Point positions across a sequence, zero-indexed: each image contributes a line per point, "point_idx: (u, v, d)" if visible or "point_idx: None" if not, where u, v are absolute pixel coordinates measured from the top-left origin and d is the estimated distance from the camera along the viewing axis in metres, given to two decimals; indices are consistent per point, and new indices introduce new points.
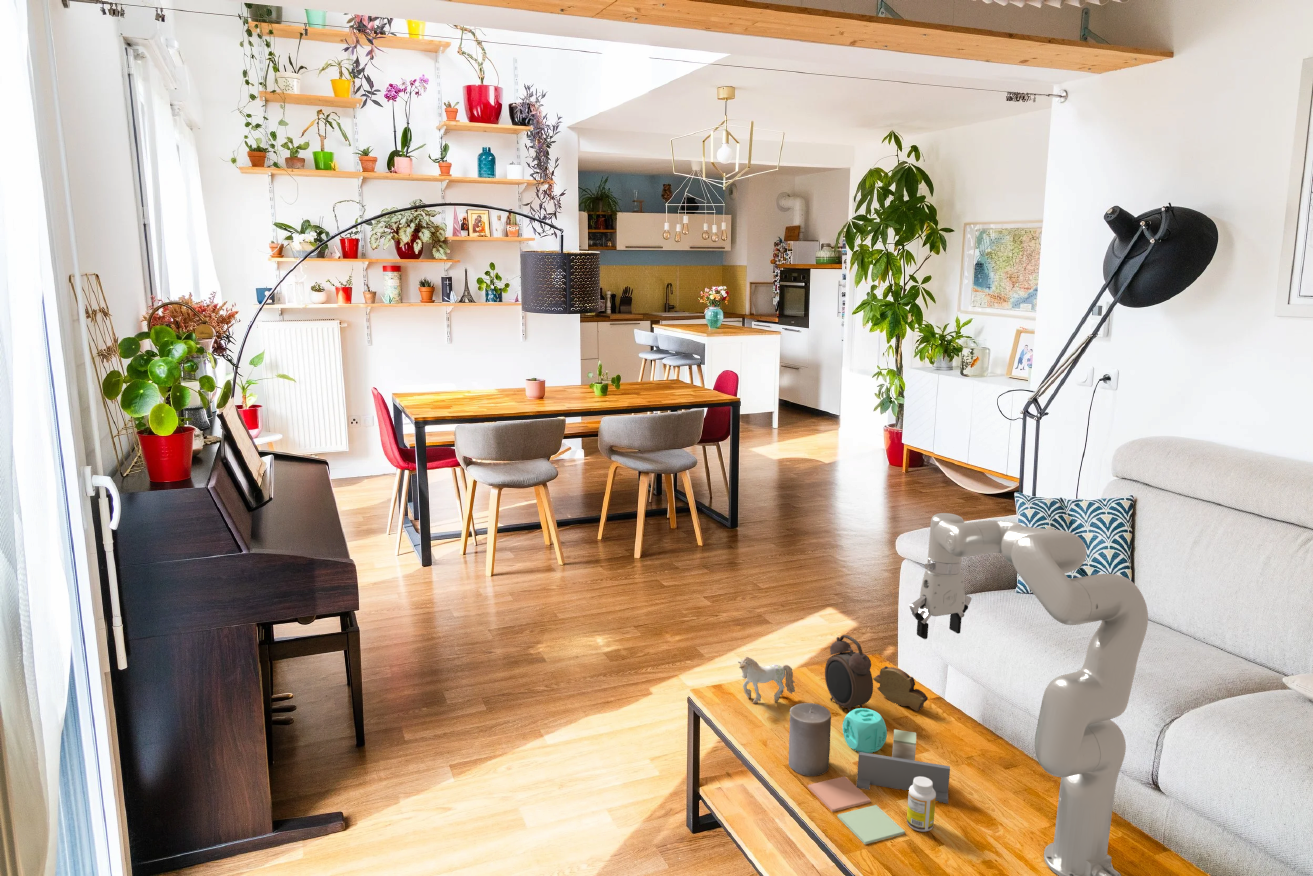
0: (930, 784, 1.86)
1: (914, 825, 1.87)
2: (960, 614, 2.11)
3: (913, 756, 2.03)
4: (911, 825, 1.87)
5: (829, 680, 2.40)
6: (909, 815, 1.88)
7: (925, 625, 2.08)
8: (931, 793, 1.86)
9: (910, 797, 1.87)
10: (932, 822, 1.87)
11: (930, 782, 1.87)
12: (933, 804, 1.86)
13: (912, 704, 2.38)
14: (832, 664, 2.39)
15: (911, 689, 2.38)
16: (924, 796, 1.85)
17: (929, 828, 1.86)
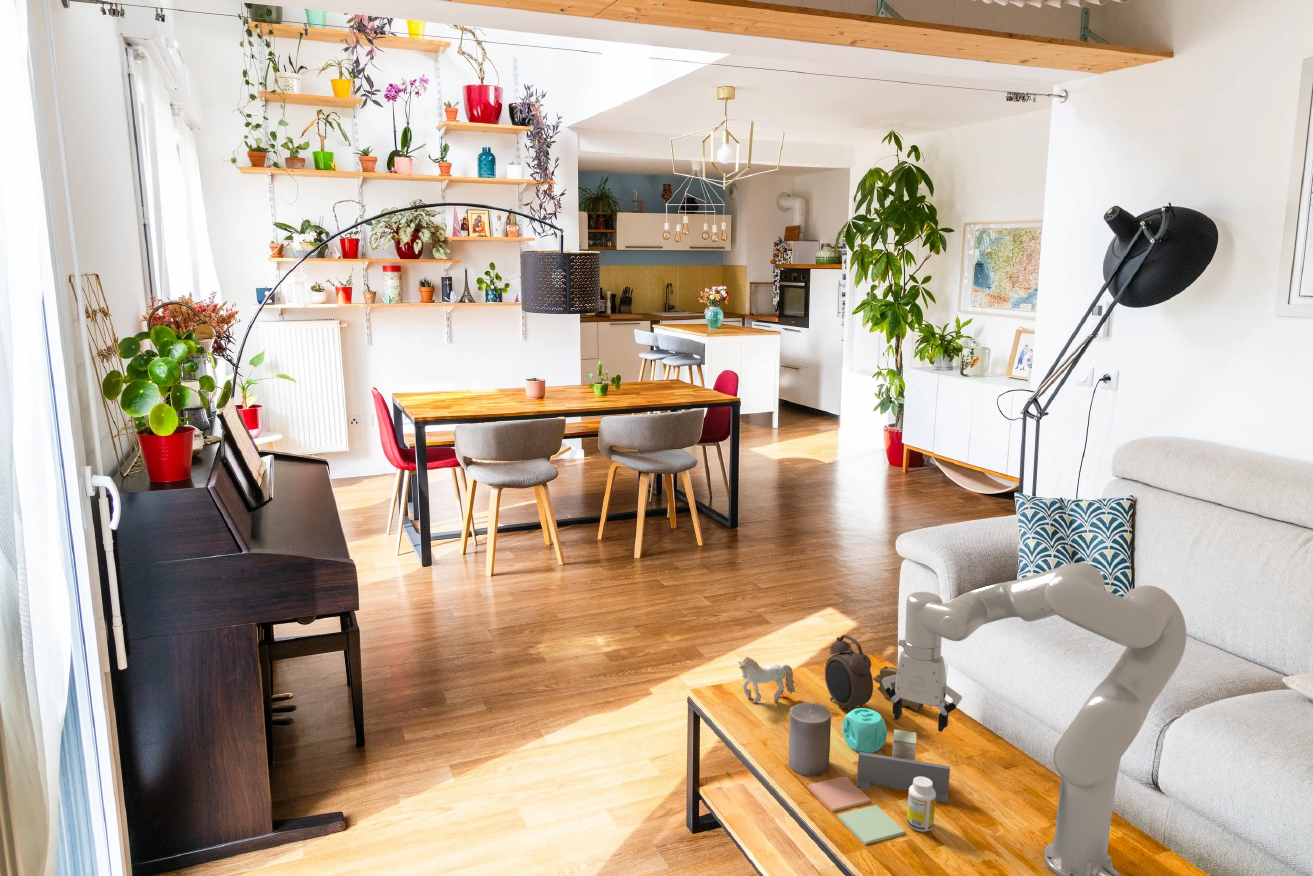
0: (930, 784, 1.86)
1: (914, 825, 1.87)
2: (941, 711, 1.90)
3: (913, 756, 2.03)
4: (911, 825, 1.87)
5: (829, 680, 2.40)
6: (909, 815, 1.88)
7: None
8: (931, 793, 1.86)
9: (910, 797, 1.87)
10: (932, 822, 1.87)
11: (930, 782, 1.87)
12: (933, 804, 1.86)
13: (912, 704, 2.38)
14: (832, 664, 2.39)
15: None
16: (924, 796, 1.85)
17: (929, 828, 1.86)
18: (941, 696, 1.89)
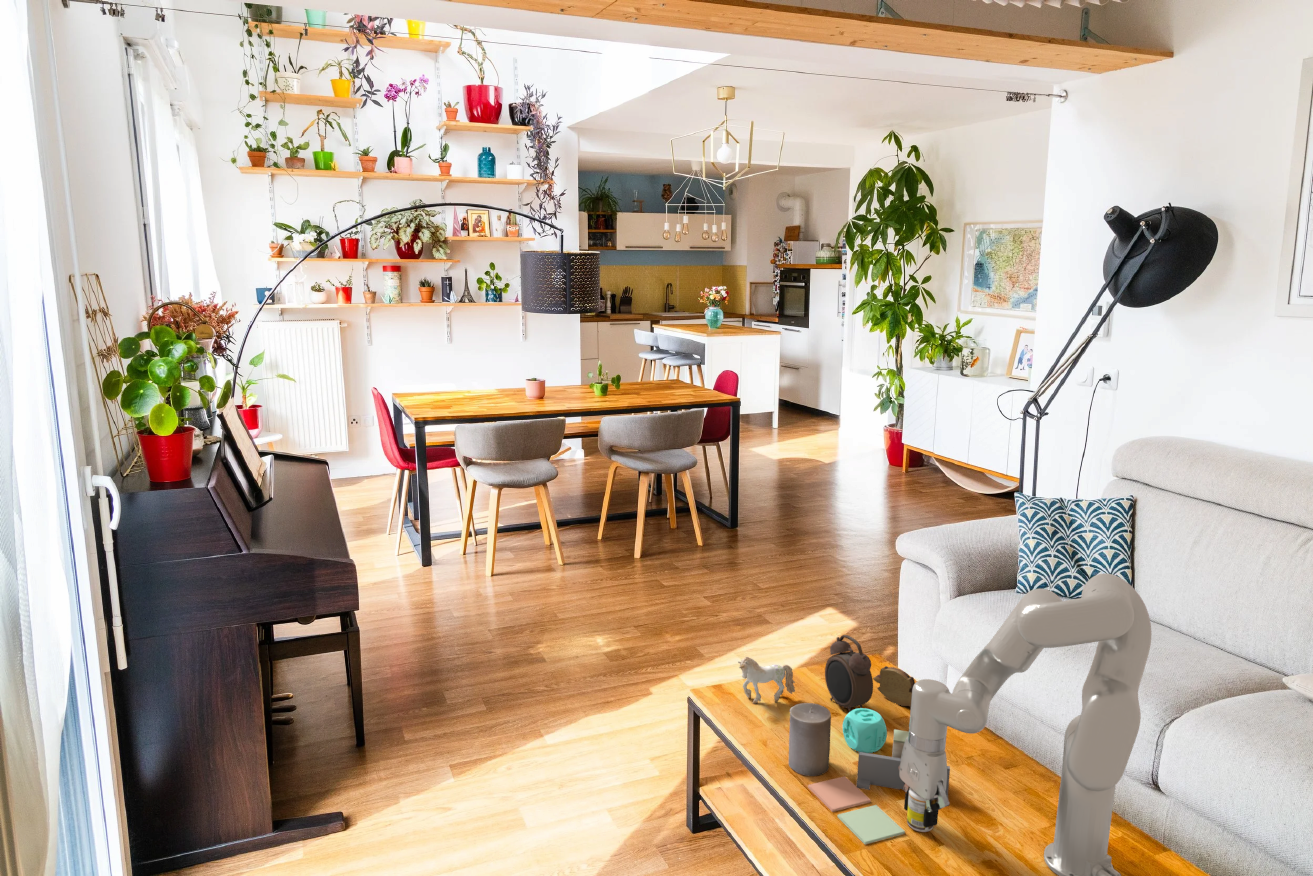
0: None
1: (914, 825, 1.87)
2: (927, 806, 1.84)
3: None
4: (911, 825, 1.87)
5: (829, 680, 2.40)
6: (909, 815, 1.88)
7: None
8: None
9: (910, 797, 1.87)
10: None
11: None
12: None
13: None
14: (832, 664, 2.39)
15: (911, 689, 2.38)
16: None
17: (929, 828, 1.86)
18: (931, 791, 1.81)
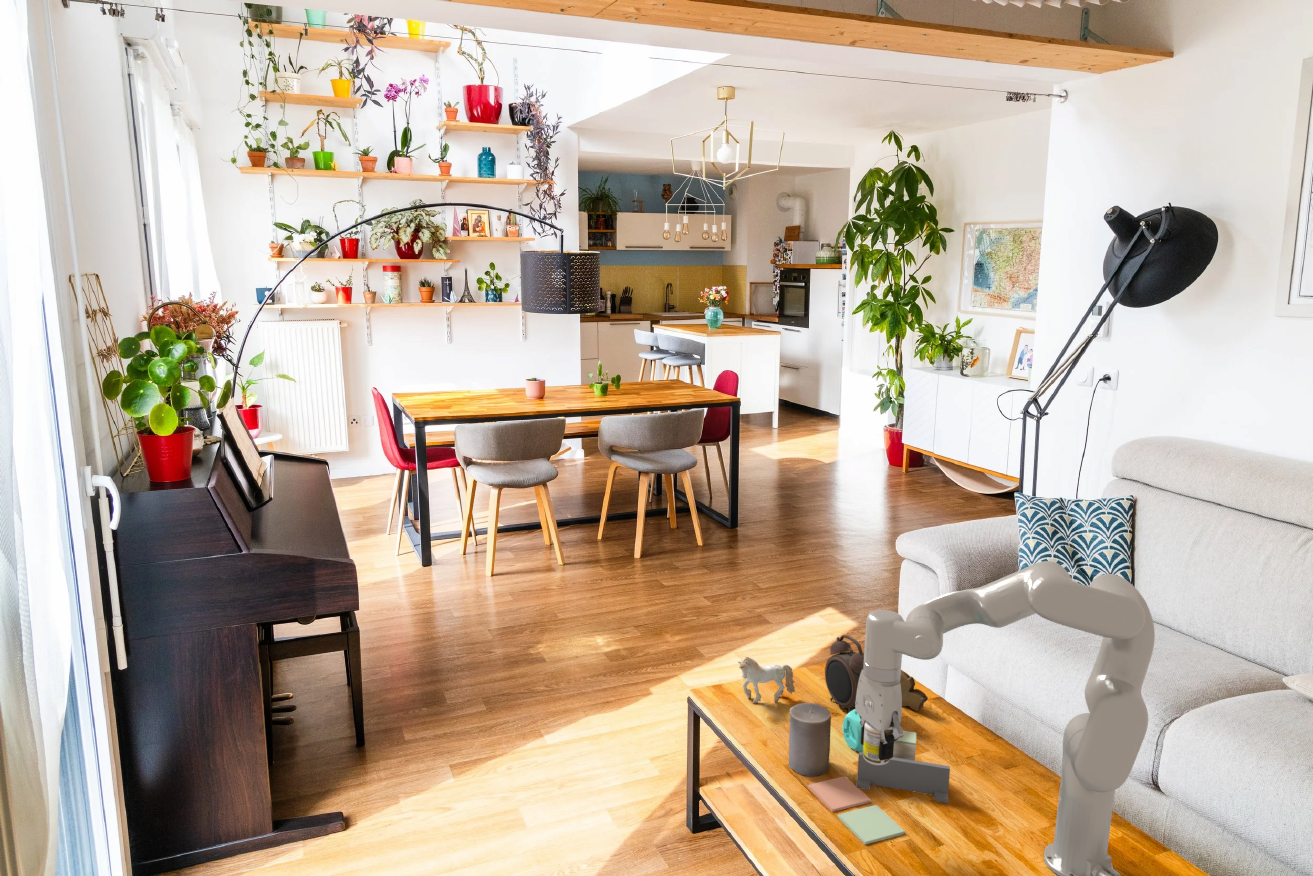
0: None
1: (870, 759, 1.84)
2: (882, 738, 1.81)
3: (913, 756, 2.03)
4: (867, 759, 1.84)
5: (829, 680, 2.40)
6: (865, 749, 1.84)
7: None
8: None
9: (866, 730, 1.84)
10: None
11: None
12: None
13: (912, 704, 2.38)
14: (832, 664, 2.39)
15: (911, 689, 2.38)
16: None
17: (885, 761, 1.83)
18: (885, 722, 1.78)
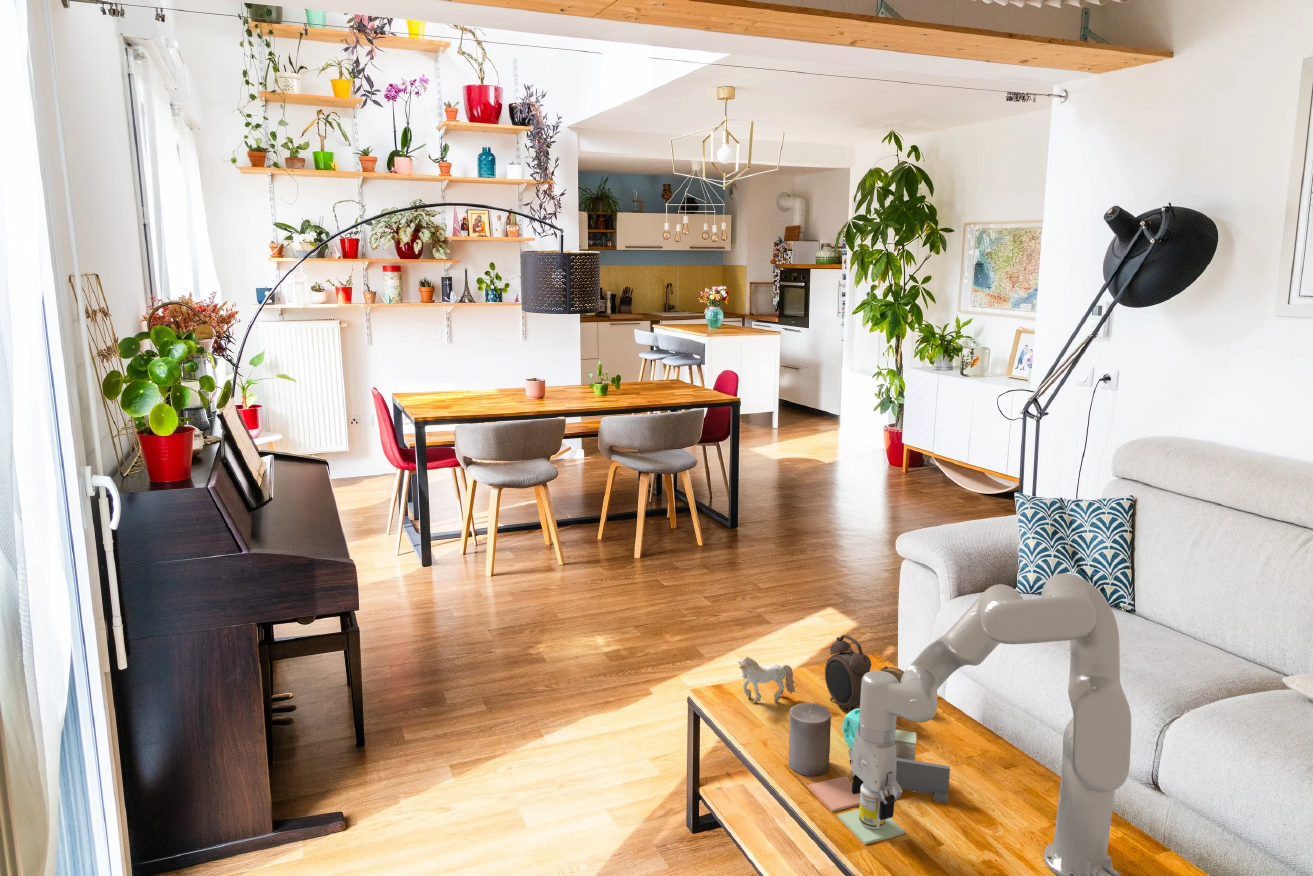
0: None
1: (866, 823, 1.86)
2: (882, 798, 1.82)
3: (913, 756, 2.03)
4: (863, 823, 1.87)
5: (829, 680, 2.40)
6: (861, 813, 1.87)
7: None
8: None
9: (862, 794, 1.87)
10: (884, 819, 1.86)
11: None
12: None
13: None
14: (832, 664, 2.39)
15: None
16: (876, 793, 1.85)
17: (881, 825, 1.86)
18: (880, 783, 1.81)
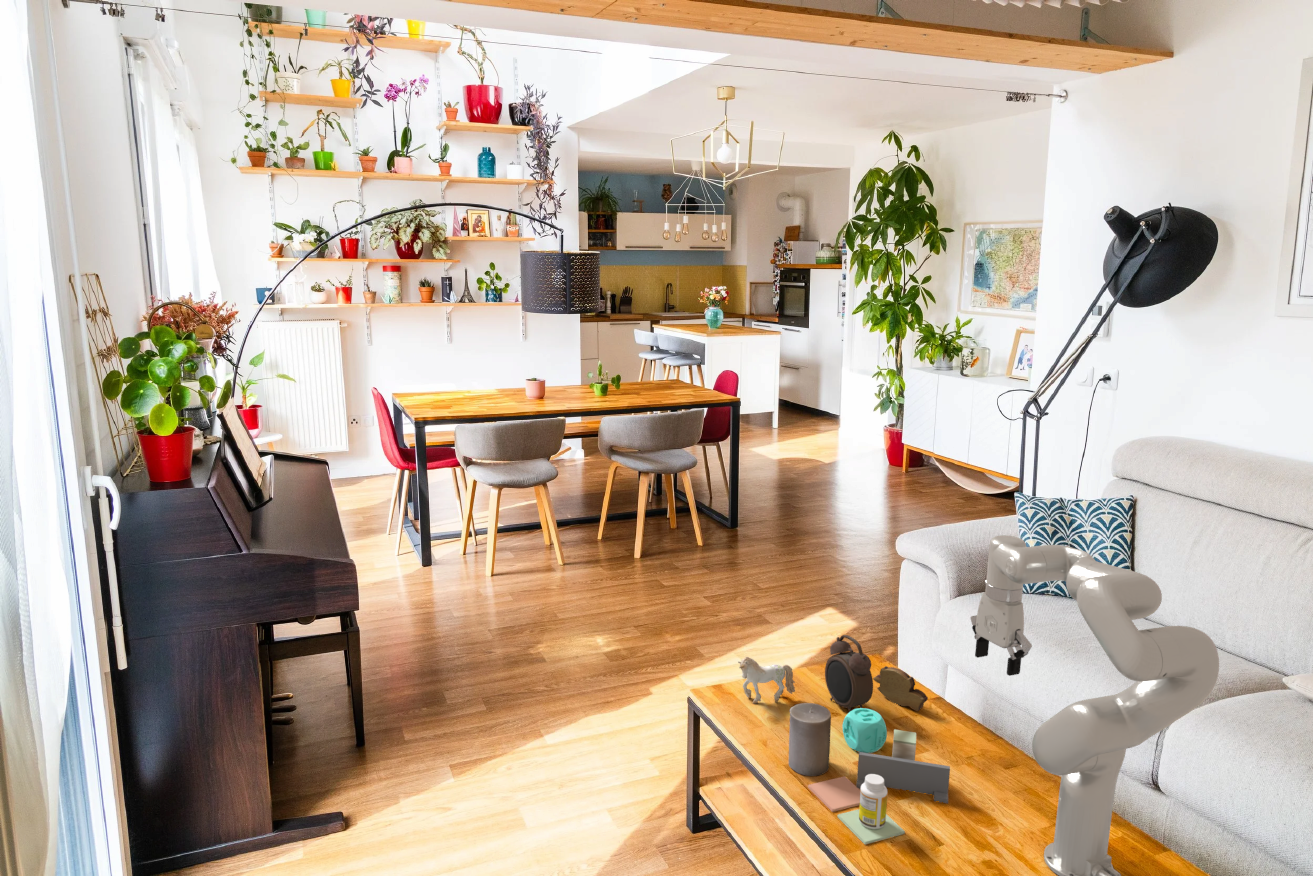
0: (881, 781, 1.86)
1: (866, 823, 1.86)
2: (1010, 654, 1.91)
3: (913, 756, 2.03)
4: (863, 823, 1.87)
5: (829, 680, 2.40)
6: (861, 813, 1.87)
7: None
8: (883, 791, 1.86)
9: (862, 795, 1.87)
10: (884, 820, 1.86)
11: (882, 779, 1.86)
12: (884, 802, 1.85)
13: (912, 704, 2.38)
14: (832, 664, 2.39)
15: (911, 689, 2.38)
16: (876, 794, 1.85)
17: (881, 826, 1.86)
18: (1009, 639, 1.90)
